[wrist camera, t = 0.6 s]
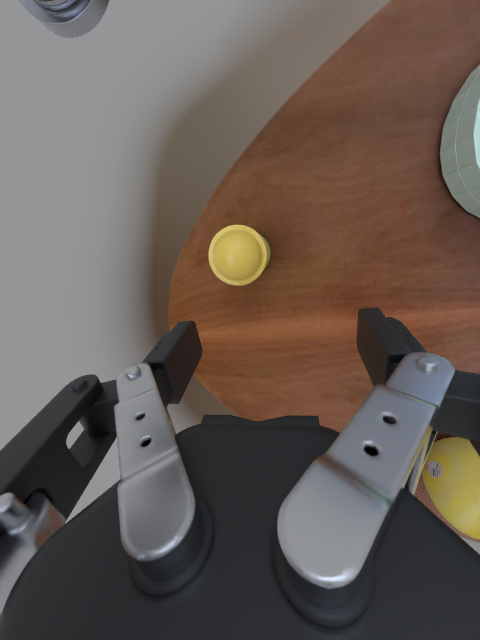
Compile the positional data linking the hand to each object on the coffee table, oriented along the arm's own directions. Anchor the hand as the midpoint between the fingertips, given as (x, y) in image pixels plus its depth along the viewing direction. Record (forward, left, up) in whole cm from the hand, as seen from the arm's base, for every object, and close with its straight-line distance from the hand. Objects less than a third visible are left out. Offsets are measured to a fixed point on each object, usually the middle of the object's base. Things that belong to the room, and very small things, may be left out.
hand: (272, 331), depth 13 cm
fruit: (+18, +29, -21) cm, 40 cm away
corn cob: (-3, -4, -21) cm, 21 cm away
